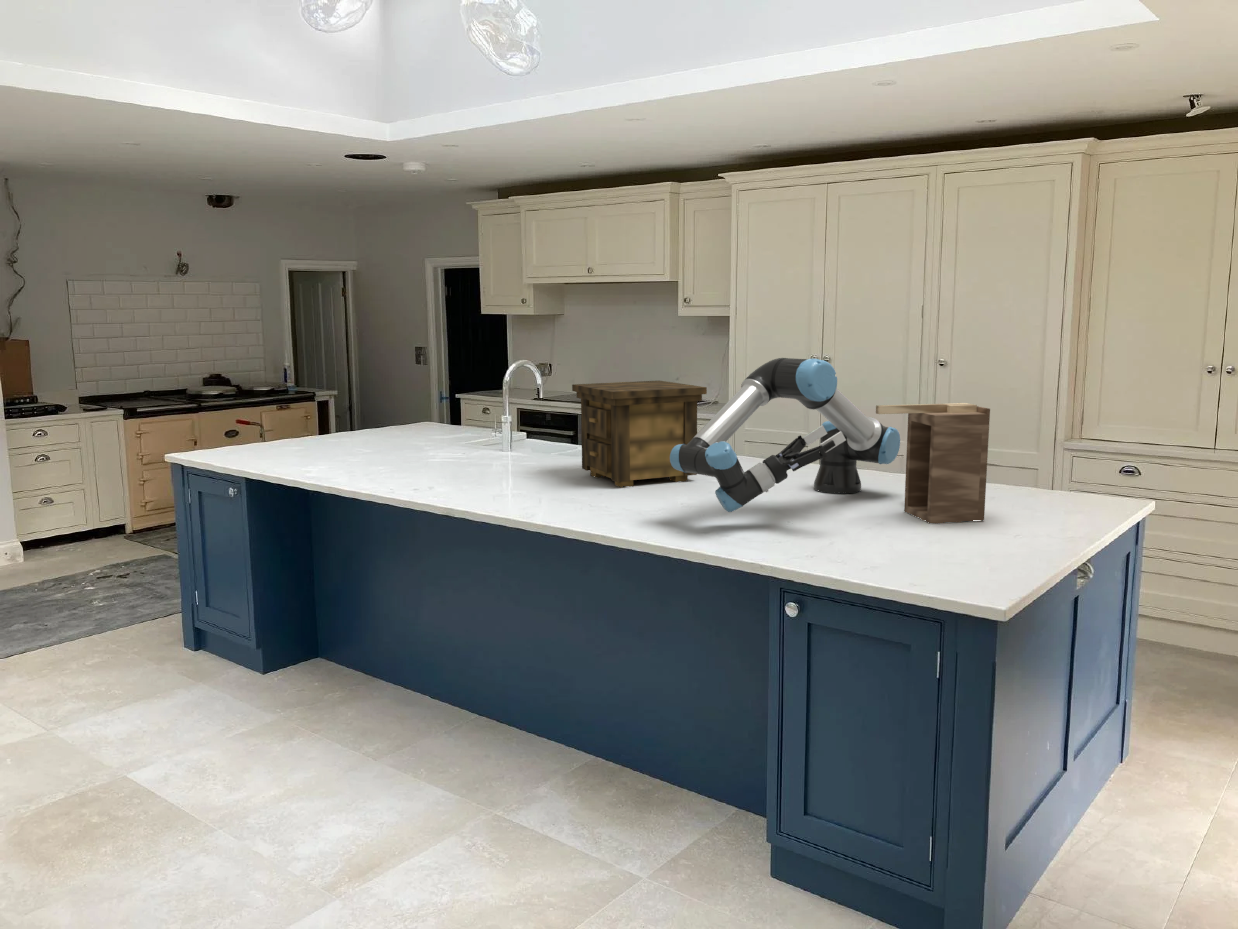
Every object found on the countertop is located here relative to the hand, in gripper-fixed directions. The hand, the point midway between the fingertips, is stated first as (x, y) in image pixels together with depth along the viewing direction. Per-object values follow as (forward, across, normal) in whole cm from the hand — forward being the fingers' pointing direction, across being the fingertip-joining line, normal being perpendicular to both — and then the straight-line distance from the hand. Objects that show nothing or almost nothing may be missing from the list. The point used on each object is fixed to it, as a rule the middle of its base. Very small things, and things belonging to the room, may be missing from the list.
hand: (833, 432), depth 263 cm
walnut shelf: (+17, -2, -39) cm, 42 cm away
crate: (-48, -80, -2) cm, 93 cm away
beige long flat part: (+26, -1, -10) cm, 27 cm away
